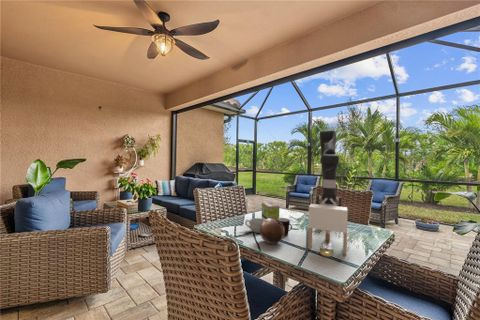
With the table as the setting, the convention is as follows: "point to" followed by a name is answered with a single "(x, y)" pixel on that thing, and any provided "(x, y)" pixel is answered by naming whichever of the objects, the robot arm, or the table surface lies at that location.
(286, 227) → the coffee mug
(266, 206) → the tea box
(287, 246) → the table surface
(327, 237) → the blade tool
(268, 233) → the wooden sphere
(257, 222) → the teacup
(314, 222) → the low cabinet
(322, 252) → the brass puck
